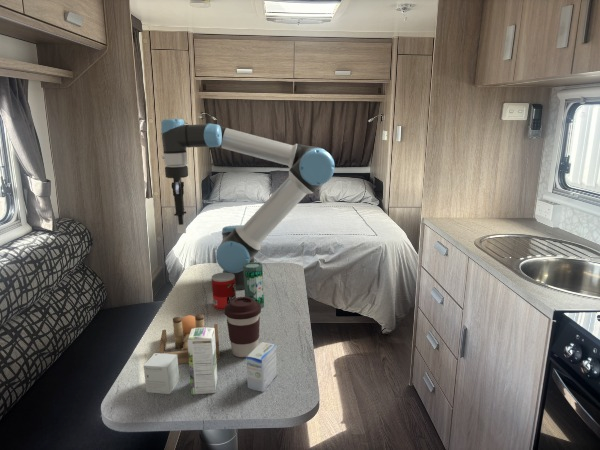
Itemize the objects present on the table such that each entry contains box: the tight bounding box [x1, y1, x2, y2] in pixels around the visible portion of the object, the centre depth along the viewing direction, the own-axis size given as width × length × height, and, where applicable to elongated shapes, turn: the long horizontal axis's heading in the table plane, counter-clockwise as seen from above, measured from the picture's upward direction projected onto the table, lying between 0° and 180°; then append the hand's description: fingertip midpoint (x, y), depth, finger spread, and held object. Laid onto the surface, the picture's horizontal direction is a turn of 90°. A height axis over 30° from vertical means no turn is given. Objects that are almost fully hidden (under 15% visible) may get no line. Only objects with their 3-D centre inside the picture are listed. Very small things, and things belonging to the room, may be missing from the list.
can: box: [243, 261, 265, 309], centre depth 154 cm, size 6×6×15 cm
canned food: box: [211, 271, 237, 311], centre depth 155 cm, size 8×8×11 cm
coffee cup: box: [223, 296, 262, 358], centre depth 124 cm, size 10×10×15 cm
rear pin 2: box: [194, 313, 205, 328], centre depth 129 cm, size 2×2×9 cm
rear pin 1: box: [172, 316, 184, 350], centre depth 128 cm, size 2×2×9 cm
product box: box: [143, 352, 180, 395], centre depth 109 cm, size 6×6×7 cm
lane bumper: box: [157, 323, 221, 365], centre depth 128 cm, size 16×15×3 cm
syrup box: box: [188, 327, 218, 396], centre depth 108 cm, size 6×6×14 cm
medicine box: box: [245, 341, 278, 393], centre depth 110 cm, size 8×4×9 cm, turn 157°
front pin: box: [181, 334, 190, 351], centre depth 127 cm, size 2×2×9 cm
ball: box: [181, 314, 196, 336], centre depth 135 cm, size 6×6×6 cm
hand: (181, 232), depth 159 cm, fingers closed
